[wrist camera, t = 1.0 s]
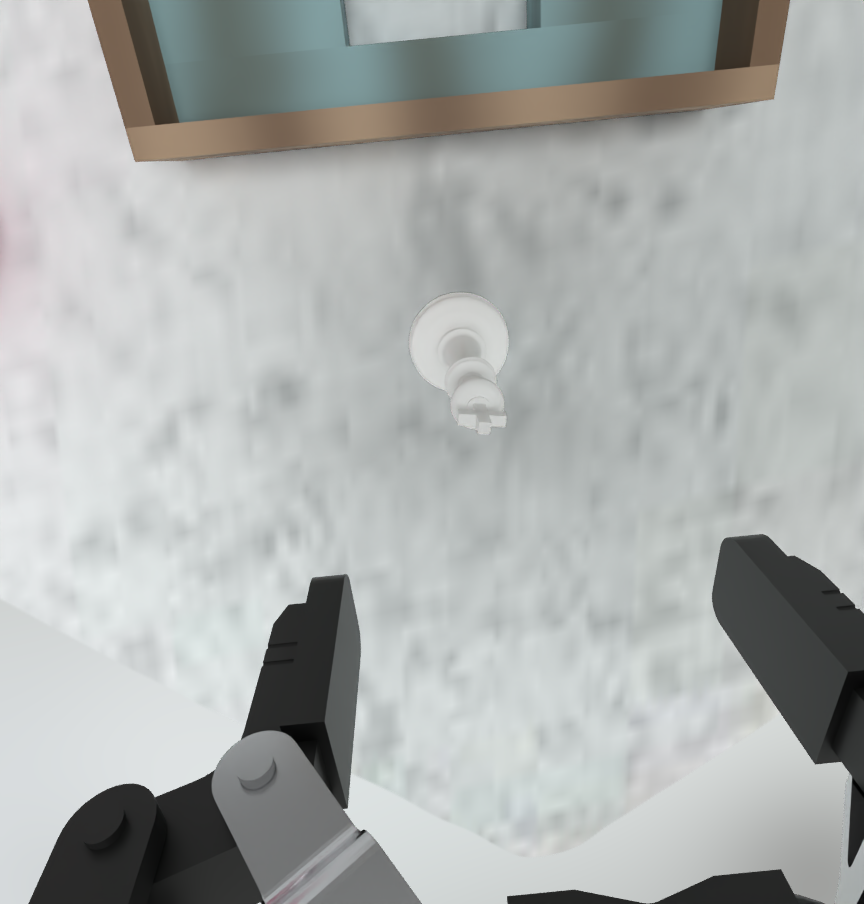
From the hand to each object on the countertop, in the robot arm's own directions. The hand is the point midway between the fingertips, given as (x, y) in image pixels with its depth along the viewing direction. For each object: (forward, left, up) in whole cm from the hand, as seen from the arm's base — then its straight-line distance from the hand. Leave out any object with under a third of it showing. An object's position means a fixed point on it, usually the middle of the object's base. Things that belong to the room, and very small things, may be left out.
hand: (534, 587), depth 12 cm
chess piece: (0, 0, -18) cm, 18 cm away
